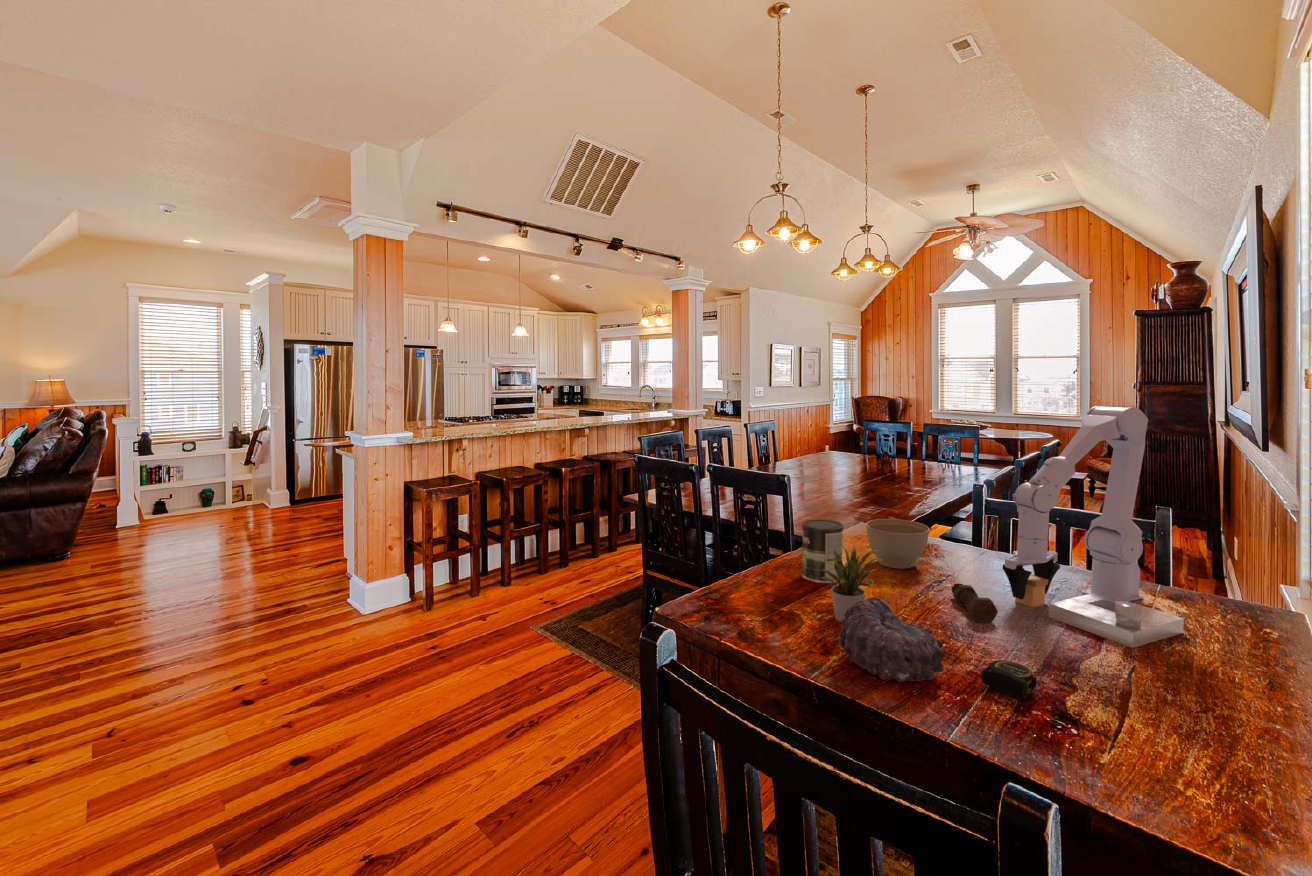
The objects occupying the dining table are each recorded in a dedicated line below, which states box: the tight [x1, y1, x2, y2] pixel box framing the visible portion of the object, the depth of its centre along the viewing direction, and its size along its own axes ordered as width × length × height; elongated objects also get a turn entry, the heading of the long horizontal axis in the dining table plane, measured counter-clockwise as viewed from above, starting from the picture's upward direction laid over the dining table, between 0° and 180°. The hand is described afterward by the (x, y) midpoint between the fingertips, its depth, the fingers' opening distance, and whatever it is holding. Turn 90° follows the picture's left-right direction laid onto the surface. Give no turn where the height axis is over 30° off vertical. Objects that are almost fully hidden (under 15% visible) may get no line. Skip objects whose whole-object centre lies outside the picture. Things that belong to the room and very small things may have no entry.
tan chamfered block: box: [1014, 573, 1048, 608], centre depth 133 cm, size 4×5×6 cm
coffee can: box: [801, 518, 844, 584], centre depth 152 cm, size 10×10×14 cm
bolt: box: [951, 583, 999, 624], centre depth 130 cm, size 6×5×15 cm
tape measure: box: [980, 659, 1038, 700], centre depth 97 cm, size 7×7×4 cm
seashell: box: [838, 596, 946, 683], centre depth 105 cm, size 19×13×15 cm
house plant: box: [816, 543, 885, 623], centre depth 125 cm, size 14×14×16 cm
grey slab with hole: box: [1048, 592, 1185, 649], centre depth 121 cm, size 16×16×7 cm
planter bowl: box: [865, 518, 930, 570], centre depth 162 cm, size 16×16×11 cm
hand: (1029, 595), depth 133 cm, fingers open, 7 cm apart
